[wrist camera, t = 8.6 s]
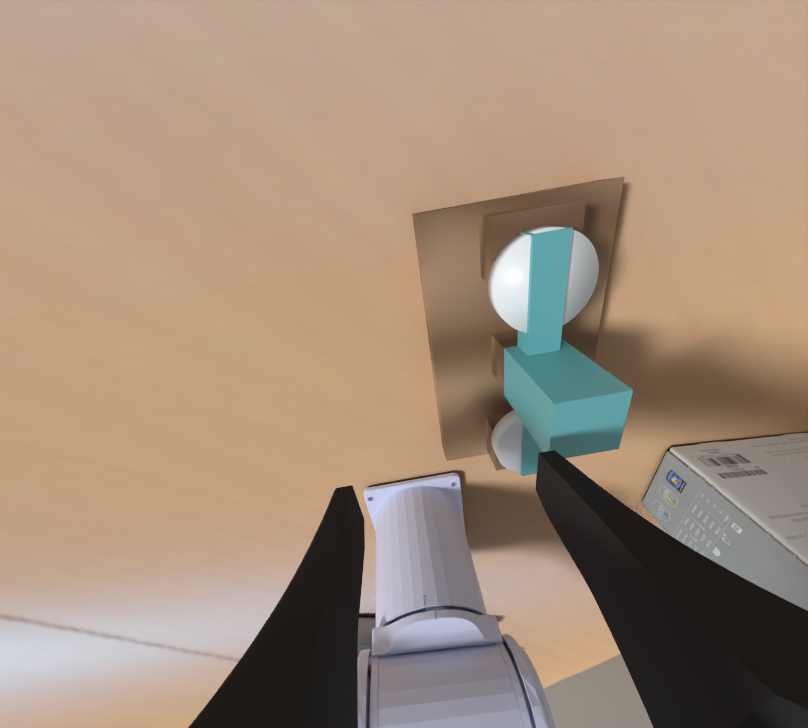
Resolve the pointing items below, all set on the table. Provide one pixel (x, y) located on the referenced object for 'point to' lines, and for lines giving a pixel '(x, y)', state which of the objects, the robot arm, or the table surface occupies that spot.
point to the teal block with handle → (551, 353)
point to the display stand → (470, 306)
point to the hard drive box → (741, 508)
